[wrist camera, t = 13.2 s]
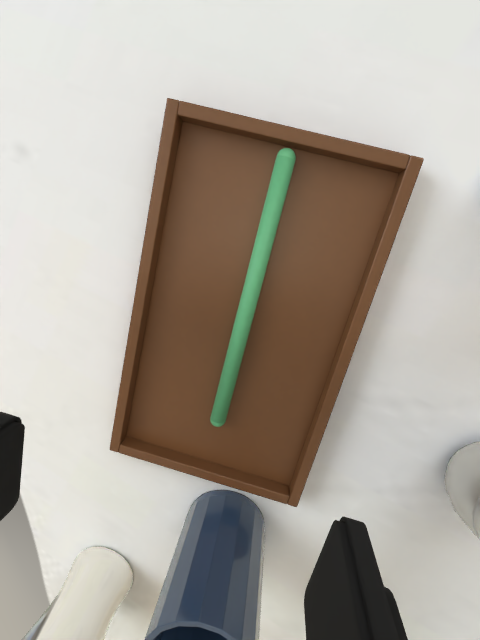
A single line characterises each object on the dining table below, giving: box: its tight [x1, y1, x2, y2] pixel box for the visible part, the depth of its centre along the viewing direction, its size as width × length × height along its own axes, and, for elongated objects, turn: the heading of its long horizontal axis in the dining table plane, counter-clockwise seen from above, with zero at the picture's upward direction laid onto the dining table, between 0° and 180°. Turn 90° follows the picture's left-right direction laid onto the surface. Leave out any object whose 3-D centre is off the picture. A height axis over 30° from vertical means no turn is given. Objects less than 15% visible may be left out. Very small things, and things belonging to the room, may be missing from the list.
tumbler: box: [145, 490, 265, 640], centre depth 24 cm, size 7×7×10 cm
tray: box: [110, 98, 424, 507], centre depth 23 cm, size 16×26×2 cm, turn 166°
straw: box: [210, 148, 296, 427], centre depth 23 cm, size 10×1×18 cm
